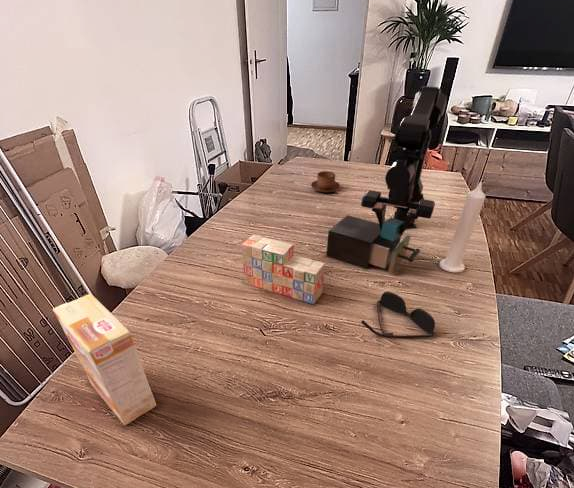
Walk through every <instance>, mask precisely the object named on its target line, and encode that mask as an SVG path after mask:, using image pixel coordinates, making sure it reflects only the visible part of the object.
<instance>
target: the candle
mask: <svg viewBox="0 0 574 488" xmlns="http://www.w3.org/2000/svg"><path fill="white" fill-rule="evenodd" d="M482 185H483V182H482V181H480V182H479V183H478V184H477V186H476V188H475V189H473V190H470V191H469V192H467V194H466V197H465V199H464V203H463V205H462V209H461V213H460V215H459V218H458V221H457V224H456V227H455V230H454V233H453V236H452V239H451V242H450V245H449V247H448V251H447V253H446V254H447V255H446V257H445V258H443V259H441V260H440V261H439V267H440V268H441V269H442V270H443V271H445V272H449V273H453V274H455V273H456V274H457V273H461V272H464V270H465V268H466V267H465V264H464V263H463V260H464V258H465V254H466V251H467V249H468V247H469V244H470V240H471V238H472V236H473V233H474V230H475V228H476V224H477V221H478V219H479V216H480V214H481V210H482V208H483V205H484V202H485V200H486V194H485V193H484V192H483V190H482V189H483V187H482Z"/></svg>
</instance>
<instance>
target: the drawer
mask: <svg viewBox="0 0 574 488" xmlns="http://www.w3.org/2000/svg"><path fill="white" fill-rule="evenodd" d="M380 236H381V235H380ZM380 236H379V237H378V238H377V239H376V240H375V241H374V242H373V243H372V246H371V252H370V258H369V264H371V265H373V266H375V267H378V268H382V269H387V267H388V270H387V272H388V273H391V274H393V273H394V272H395V270H396V269H397V268H398V266H399V265H400V264H401V263H402V261H404V260H406V261H407V262H408V263H413V262H414V260H415V259H416V258H417V256H418V255H419V254H420V252H421V249H420V248H414V247H413V248H412V247H409V244H410V241H411V235H408V234H406V235H405V237H404V238H402V236H401V237H400V238H398V239H397V240H395V241H394V242H393V241H391V240H388V239H385V238H383V237H380ZM408 251H409V252H412V253H411V254H410V256H407V253H408Z"/></svg>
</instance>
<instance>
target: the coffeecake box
mask: <svg viewBox="0 0 574 488" xmlns="http://www.w3.org/2000/svg"><path fill="white" fill-rule="evenodd" d="M52 312H53V313H54V315H55V317H56V319H57V320H58V322H59V324H60V326H61V328H62V330H63V332H64V334H65V336H66V338H67V340H68V342H69V343H70V345H71V347H72V349H73V351H74V353H75V355H76V357H77V358H78V361H79V362H80V365H81V367H82V369H83V370H84V372H85V374H86V376H87V379H88V380H89V383H90V384H91V386H92V388H93V389H94V390H95V391H96V392H97V393H98V395H99V396H100V398H101V399H102V400H103V401H104V403H106V405H107V406H108V407H109V408H110V409H111V411H112V412H113V413H114V415H115V416H116V417H117V418H118V420H119V421H120V422H121V423H122V424H123V426H127V425H128V424H130V423H132V422H133V421H135V420H136V419H137V418H139V417H141V416H142V415H144V414H145V413H147V412H149V411H150V410H152V409H155V408H156V407H157V403H156V400H155V397H154V394H153V392H152V390H151V387H150V384H149V380H148V378H147V376H146V372H145V369H144V367H143V364H142V361H141V359H140V356H139V353H138V350H137V349H136V345H135V343H134V340H133V337H132V335H131V331H129V329H127V328H126V326H124V325H123V323H122V322H120V320H118V319H117V318H116V316H114V314H112V312H110V311H109V309H107V307H106V306H104V305H103V304H102V303H101V302H100V301H99V300H98V299H97V298H96V297H95V296H94V295H93V294H92V293H89V294H86V295H84V296H81V297H79V298H77V299H74V300H72V301H69V302H64V303H63V304H60V305H57V306H56V307H53V308H52Z"/></svg>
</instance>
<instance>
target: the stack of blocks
mask: <svg viewBox="0 0 574 488" xmlns="http://www.w3.org/2000/svg"><path fill="white" fill-rule="evenodd" d="M241 256H242V257H241V258H242V264H243V265H242V266H243V278H244V279H243V280H244V284H247V285H249V286H253V287H255V288H259V289H262V290H264V291H268V292H272V293H276V294H279V295H282V296H285V297H288V298H292V299H295V300H297V301H301V302H304V303H307V304H310V305H314V304H315V303H316V302H317V300H318V299H319V298H320V297H321V295H322V294H323V290H324V289H323V287H324V276H325V267H326V263H325V262H322V261H318V260H314V259H311V258H306V257H303V256H299V255H295V254H294V244H292V243H289V242H284V241H281V240H277V239H273V238H269V237H264V236H261V235H257V234H252V235H251V236H250V237H248V238H247V239H246V240H245V241H243V242H242V243H241Z"/></svg>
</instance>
